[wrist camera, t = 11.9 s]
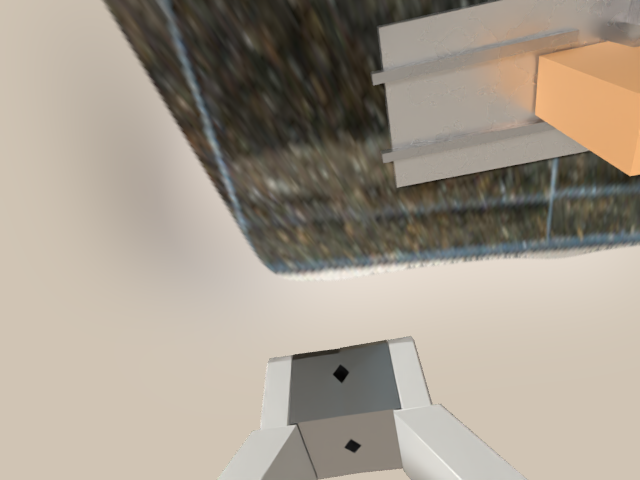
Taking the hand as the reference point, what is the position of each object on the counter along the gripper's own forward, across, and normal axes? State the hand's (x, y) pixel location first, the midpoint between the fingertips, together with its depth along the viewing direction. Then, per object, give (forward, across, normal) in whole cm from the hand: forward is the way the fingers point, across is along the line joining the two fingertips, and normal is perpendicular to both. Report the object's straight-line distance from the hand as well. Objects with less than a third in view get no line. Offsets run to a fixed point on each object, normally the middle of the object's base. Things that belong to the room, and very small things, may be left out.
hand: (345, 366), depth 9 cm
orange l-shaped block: (+28, -22, +4) cm, 35 cm away
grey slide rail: (+29, -15, +4) cm, 33 cm away
